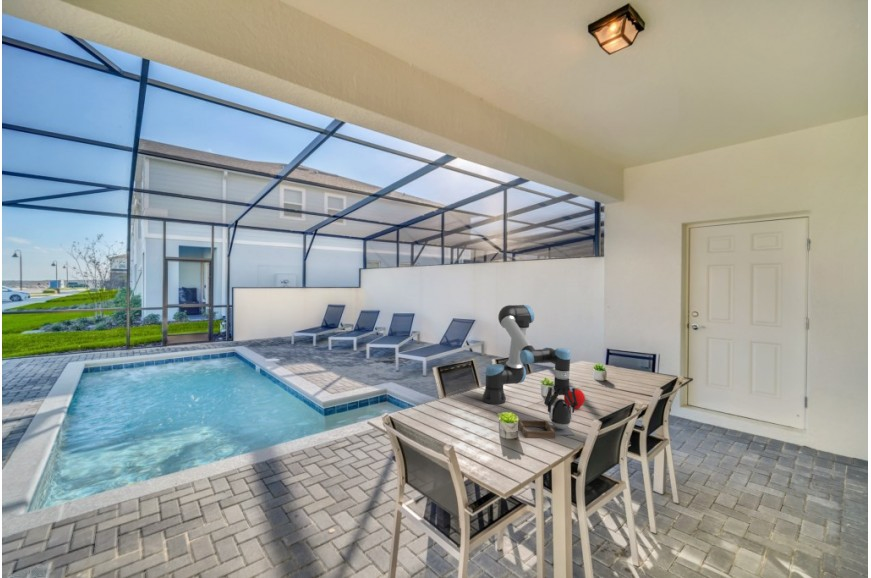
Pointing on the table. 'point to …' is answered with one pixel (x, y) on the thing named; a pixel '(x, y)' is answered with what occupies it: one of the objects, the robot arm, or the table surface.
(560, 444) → the table surface
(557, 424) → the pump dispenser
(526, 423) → the frame
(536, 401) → the table surface
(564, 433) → the rubber mat
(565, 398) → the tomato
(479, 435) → the table surface
